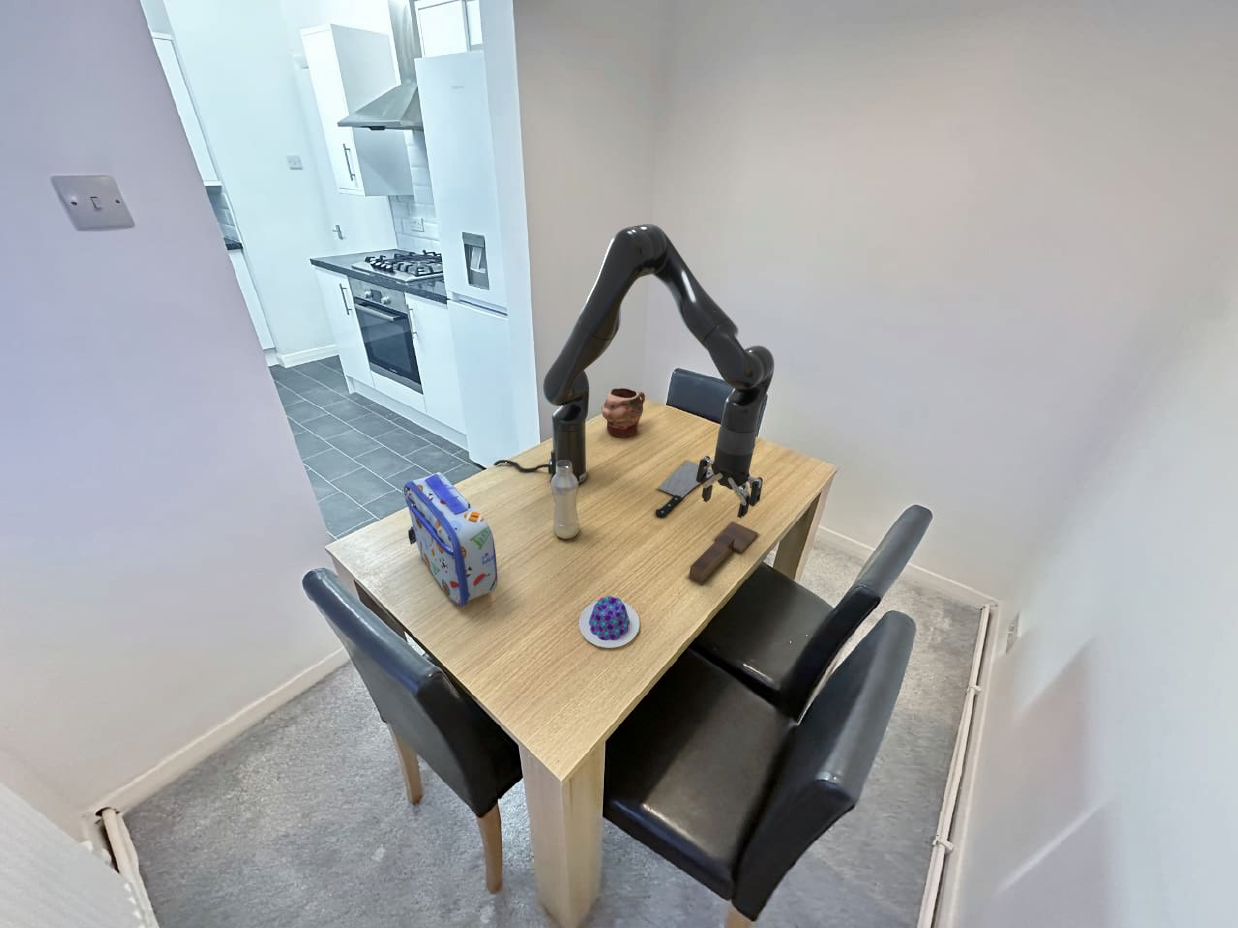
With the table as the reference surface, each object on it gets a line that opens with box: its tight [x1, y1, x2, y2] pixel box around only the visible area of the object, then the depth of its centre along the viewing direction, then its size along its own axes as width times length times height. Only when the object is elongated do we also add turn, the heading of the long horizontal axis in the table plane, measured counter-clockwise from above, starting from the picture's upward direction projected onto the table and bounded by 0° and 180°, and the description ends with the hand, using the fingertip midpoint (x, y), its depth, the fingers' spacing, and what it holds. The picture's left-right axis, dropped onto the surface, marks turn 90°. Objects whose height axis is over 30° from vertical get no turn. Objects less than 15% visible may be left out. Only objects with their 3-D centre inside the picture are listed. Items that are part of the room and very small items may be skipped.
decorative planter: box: [600, 387, 646, 438], centre depth 166 cm, size 20×12×14 cm, turn 143°
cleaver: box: [655, 460, 714, 518], centre depth 139 cm, size 29×1×10 cm
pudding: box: [578, 595, 641, 649], centre depth 96 cm, size 12×12×5 cm
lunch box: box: [403, 471, 498, 607], centre depth 103 cm, size 28×10×22 cm, turn 42°
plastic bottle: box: [550, 460, 581, 540], centre depth 116 cm, size 6×7×20 cm
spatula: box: [688, 521, 758, 585], centre depth 115 cm, size 24×7×4 cm, turn 141°
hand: (723, 508), depth 109 cm, fingers open, 8 cm apart
